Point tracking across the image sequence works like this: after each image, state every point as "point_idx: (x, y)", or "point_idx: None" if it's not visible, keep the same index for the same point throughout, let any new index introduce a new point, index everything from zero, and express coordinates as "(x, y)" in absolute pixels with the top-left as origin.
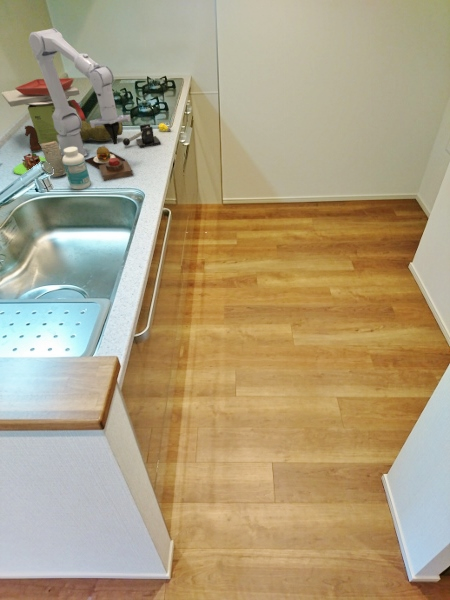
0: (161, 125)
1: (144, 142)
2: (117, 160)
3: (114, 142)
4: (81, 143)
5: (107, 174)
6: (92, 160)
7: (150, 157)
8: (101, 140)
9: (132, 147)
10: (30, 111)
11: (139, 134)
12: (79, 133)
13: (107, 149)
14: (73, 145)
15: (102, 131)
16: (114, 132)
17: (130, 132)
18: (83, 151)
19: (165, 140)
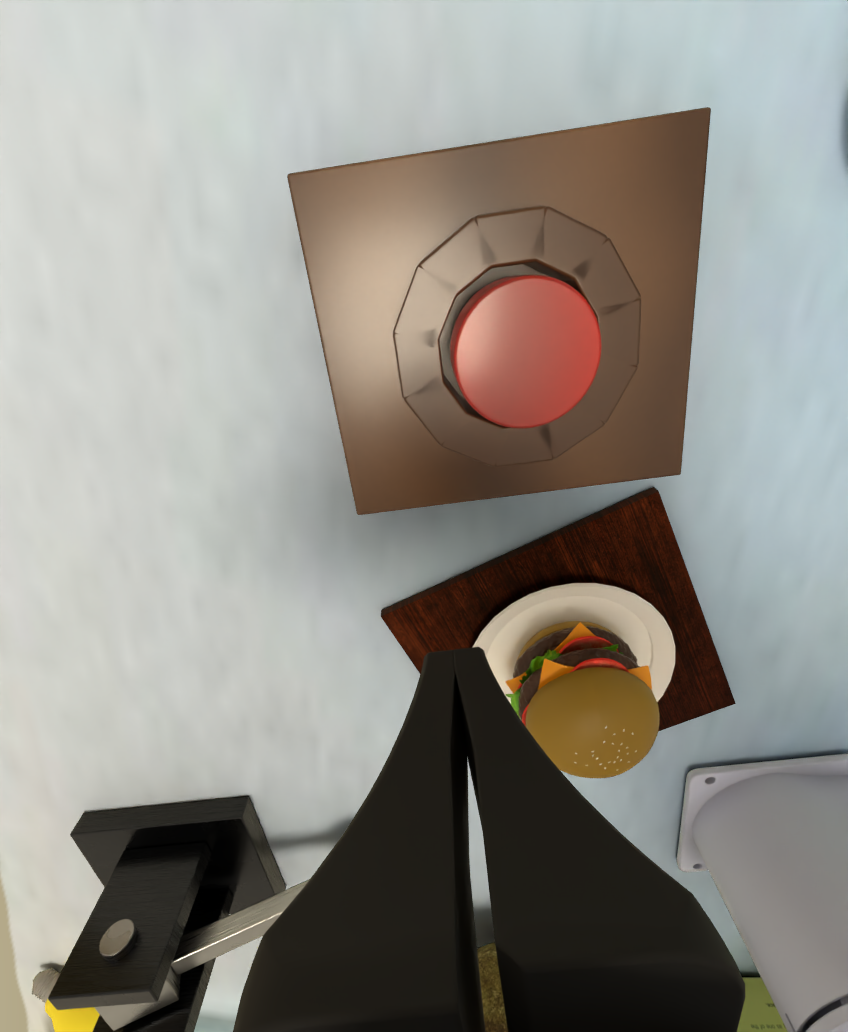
0: (79, 1029)
1: (203, 847)
2: (469, 310)
3: (469, 663)
4: (753, 891)
5: (641, 125)
6: (673, 674)
7: (142, 613)
8: None
9: (316, 819)
10: None
11: (217, 934)
12: (805, 1010)
13: (545, 724)
14: (846, 867)
15: None
16: (441, 817)
17: None
18: (715, 818)
19: (57, 863)
